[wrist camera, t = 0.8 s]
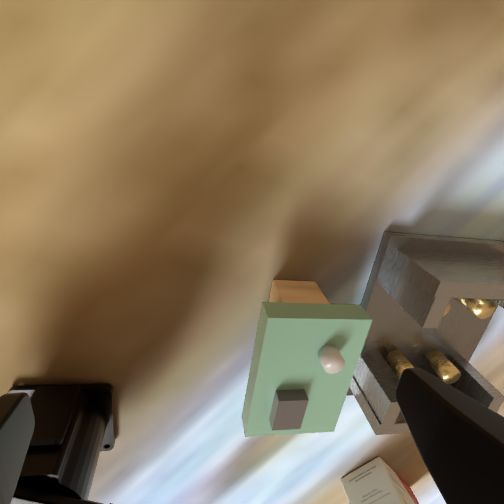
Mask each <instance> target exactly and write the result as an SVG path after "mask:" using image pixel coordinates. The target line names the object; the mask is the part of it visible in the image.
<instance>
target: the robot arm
mask: <svg viewBox="0 0 504 504" xmlns="http://www.w3.org/2000/svg"><path fill="white" fill-rule="evenodd" d="M105 391H106V392H105ZM395 395H396V400H397V403H398V405H399V407H400V409H401V412H402V414H403V416H404V419H405V421H406V423H407V425H408V428H409V430H410V432H411V435H412V437H413V439H414V441H415V444H416V446H417V448H418V450H419V453H420V455H421V457H422V459H423V461H424V463H425V465H426V467H427V469H428V470H429V472H430V474H431V476H432V478H433V480H434V481H435V483H436V485H437V487H438V489H439V491H440V492H441V494H442V496H443V498H444V500H445V502H446V504H504V417H503V416H501V415H499V414H498V413H496V412H494V411H492V410H491V409H489V408H487V407H486V406H484V405H482V404H481V403H479V402H477V401H476V400H474V399H472V398H470V397H469V396H467V395H465V394H464V393H462V392H460V391H459V390H457V389H455V388H454V387H452V386H450V385H448V384H447V383H445V382H443V381H442V380H440V379H438V378H437V377H435V376H433V375H432V374H430V373H428V372H426V371H425V370H423V369H421V368H406V369H404V370H403V371H402V374H401V377H400V379H399V382H398V385H397V388H396V391H395ZM114 443H115V429H114V404H113V387H112V386H111V385H109V384H68V385H24V386H13V387H11V388H10V390H9V391H8V393H7V394H4V395H2V396H1V397H0V504H102V503H98V502H93V501H89V500H88V496H89V492H90V489H91V485H92V481H93V477H94V473H95V469H96V465H97V461H98V457H99V454H100V451H109V450H111V449H113V447H114ZM110 504H111V503H110Z"/></svg>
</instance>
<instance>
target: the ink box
mask: <svg viewBox="0 0 504 504" xmlns="http://www.w3.org/2000/svg"><path fill="white" fill-rule="evenodd" d="M341 483H342V486H343V488H344V491H345V494H346V496H347V499H348V501H349V504H419V503H418V501H417V499H416V497H415V495H414V494H413V492H412V490H411V488H410V487H409V486H408V485H407V484H406V483H405V482H404V481H403V480H402V479H401V478H400V477H399V476H398V475H397V474H396V473H395V472H394V471H393V470H392V469H391V468H390V467H389V466H388V465H387V464H386V463H385V462H384V461H383V460H382V459H381V458H380V457H377V458H376V459H374V460H372V461H370V462H369V463H367V464H365V465H363V466H362V467H360V468H358V469H357V470H355V471H353V472H352V473H350V474H348V475H347V476H345V477H343V478H342V479H341Z"/></svg>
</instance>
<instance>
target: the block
mask: <svg viewBox="0 0 504 504" xmlns="http://www.w3.org/2000/svg"><path fill="white" fill-rule="evenodd" d="M269 302H286V303H320V304H330V303H329V302H328V300H327V299H326V297H325V296H324V294H323V293H322V291H321V290H320V288H319V287H318V285H317V284H316V282H314V281H290V280H273V282H272V287H271V293H270V298H269Z"/></svg>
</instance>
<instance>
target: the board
mask: <svg viewBox="0 0 504 504" xmlns="http://www.w3.org/2000/svg"><path fill="white" fill-rule="evenodd" d="M371 323H372V319H371V317H370V316H369V315H368V314H367V312H366V311H365V310H364V309H363V308H362V306H361V305H355V304H320V303H286V302H262V307H261V312H260V318H259V323H258V329H257V335H256V340H255V346H254V351H253V357H252V362H251V368H250V373H249V379H248V384H247V390H246V395H245V401H244V406H243V412H242V421H243V427H244V433H245V437H248V436H265V435H282V434H299V433H316V432H333V431H334V429H335V426H336V423H337V421H338V418H339V415H340V412H341V409H342V406H343V403H344V400H345V398H346V395H347V392H348V389H349V386H350V383H351V380H352V377H353V375H354V372H355V369H356V366H357V363H358V360H359V357H360V354H361V352H362V349H363V346H364V343H365V340H366V337H367V334H368V331H369V329H370V326H371Z"/></svg>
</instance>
